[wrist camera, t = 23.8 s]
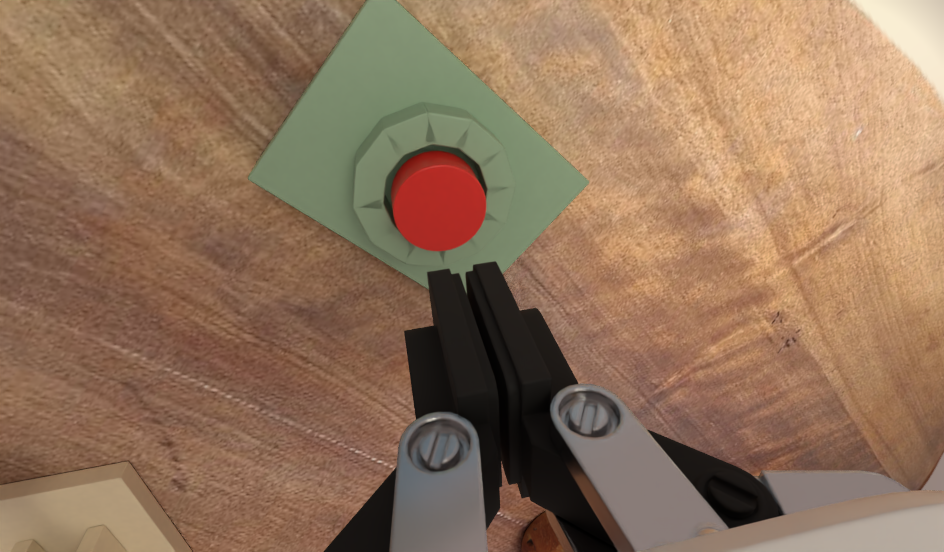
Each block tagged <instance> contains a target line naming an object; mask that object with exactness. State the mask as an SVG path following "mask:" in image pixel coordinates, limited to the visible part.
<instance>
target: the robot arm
mask: <svg viewBox="0 0 944 552" xmlns="http://www.w3.org/2000/svg"><path fill="white" fill-rule="evenodd" d="M465 276H466V290H467V294H466V291H465V288H464V285H463V282H462V279H461V276H460V274H459V273H455V274H451V271H450V269H442V270H436V271H430V272H427V278H428V286H429V294H430V301H431V309H432V317H433V324H434V326H429V327H424V328H418V329H412V330H406V331H404V333H405V341H406V348H407V356H408V363H409V371H410V378H411V385H412V393H413V400H414V408H415V415H416V420H415V421H414V422H413V423H411V424H410V425H409V426H408V427H407V428H406V430H405V431H404V433H403V434H402V436H401V439H400V443H399V447H398V458H397V467H396V468H395V470H394V471H393V472H392V473H391V474H390V475H389V476H388V478H387V479H386V480H385V481H384V482H383V483H382V485H381V486H380V487H379V488H378V489H377V490H376V492H375V493H374V494H373V495H372V496H371V497H370V499H369V500H368V501H367V502H366V503H365V504H364V505H363V507H362V508H361V509H360V510H359V511H358V512H357V514H356V515H355V516H354V517H353V518H352V519H351V521H350V522H349V523H348V524H347V525H346V526H345V528H344V529H343V530H342V531H341V532H340V533H339V534H338V536H337V537H336V538H335V539H334V540H333V541H332V543H331V544H330V545H329V546H328V547H327V548H326V550H325V551H324V552H488V547H487V535H486V530H487V528H488V527H489V525H490V523H491V522H492V520H493V519H494V517H495V515H496V514H497V512H498V510H499V509H500V493H499V487H501V486H502V472H501V461H502V465H503V468H504V471H505V475H506V478H507V481H508V484H509V485H511V484H515V483H517V484H518V487H519V491H520V494H521V497H522V498H525V497H530V500H531V501H532V502H534V503H536V504H538V505H539V506H541V507H543V508H545V509H546V514H547V517H548V520H549V522H550V524H551V526H552V528H553V530H554V532H555V534H556V536H557V538H558V540H559V542H560V544H561V546H562V548H563V550H564V551H565V552H944V491H927V490H921V491H910V490H909V489H907V488H906V487H904V486H903V485H901V484H900V483H898V482H896V481H895V480H893V479H891V478H888V477H886V476H883V475H881V474H878V473H874V472H867V471H770V470H762V471H761V473H760V475H759V476H752V475H751V474H749V473H747V472H746V471H744V470H742V469H740V468H738V467H736V466H734V465H731V464H729V463H726V462H724V461H722V460H719V459H717V458H714V457H712V456H710V455H707V454H705V453H702V452H700V451H698V450H695V449H693V448H690V447H688V446H686V445H683V444H681V443H679V442H676V441H674V440H671V439H669V438H667V437H664V436H662V435H659V434H657V433H655V432H652V431H650V430H647V429H646V428H645V427H644V426H643V425H642V424H641V422H640V421H639V420H638V419H637V418H636V416H635V415H634V414H633V413H632V412H631V410H630V409H629V408H628V407H627V406H626V404H625V403H624V402H623V401H622V400H621V399H620V398H619V397H618V396H617V395H616V394H615V393H613V392H611V391H609V390H608V389H606V388H604V387H601V386H597V385H593V384H578V382H577V380H576V378H575V376H574V374H573V373H572V371H571V369H570V367H569V365H568V363H567V361H566V359H565V358H564V356H563V354H562V352H561V350H560V348H559V346H558V344H557V343H556V341H555V339H554V337H553V335H552V333H551V331H550V329H549V328H548V326H547V324H546V322H545V320H544V318H543V316H542V314H541V313H540V311H539V310H538V309H537V308H533V309H527V310H521V311H520V310H519V308H518V306H517V304H516V302H515V299H514V297H513V295H512V293H511V291H510V289H509V287H508V285H507V283H506V281H505V279H504V276H503V274H502V272H501V270H500V268H499V266H498V264H497V262H496V261H493V262H487V263H480V264H474V265H473V271H468V272H466V273H465Z"/></svg>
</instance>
